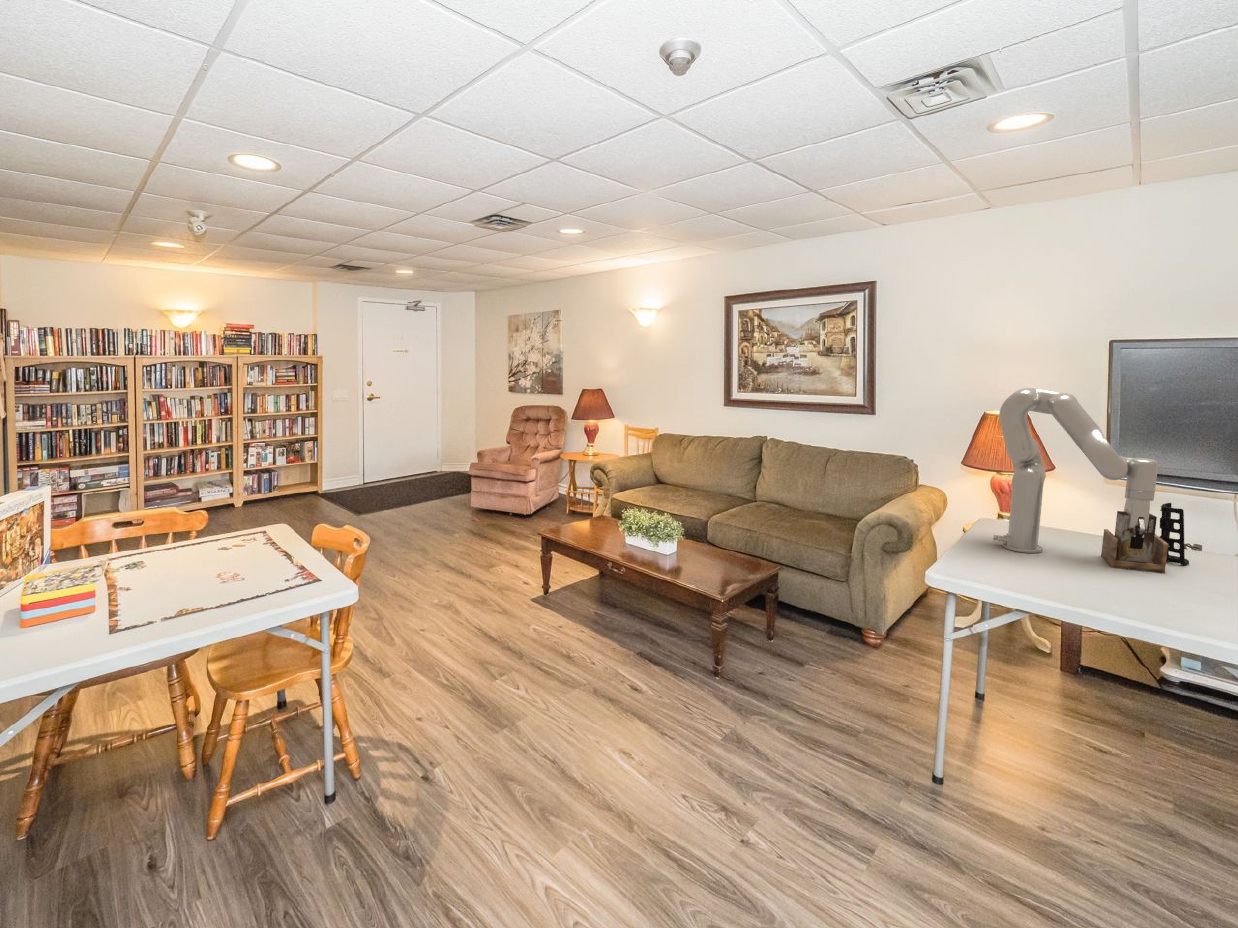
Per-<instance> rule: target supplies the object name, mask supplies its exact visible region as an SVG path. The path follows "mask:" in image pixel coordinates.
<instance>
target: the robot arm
mask: <svg viewBox="0 0 1238 928" xmlns="http://www.w3.org/2000/svg"><path fill="white" fill-rule="evenodd" d="M1029 412H1034V413H1035V412H1036V413H1040V414H1044V415H1046V414H1047V415H1051V416H1052V417H1053V418H1054V419H1055V420H1056V421H1057V423H1059V425H1060V426H1061V427H1062V429H1063V430H1064V432H1066V434H1068V437H1070V438H1071V440H1072V441H1073V442H1074V444H1075V445H1076V446H1077V447H1078V448H1079V449H1080V450H1081V451H1082V453H1083V454H1084V456H1085V457H1086V459H1088V461H1089V462H1090V463H1091V464H1092V466H1093V467H1094V468H1095V469H1096V471H1098V473H1099V474H1100V475H1101V476H1102V477H1103V478H1105V479H1106V480H1110V481H1118V480H1121V479H1124V478H1125V477H1126V484H1125V491H1124V492H1125V493H1124V498H1125V503H1124V506H1123V511H1124V512H1126V513H1127V514H1128V515H1130V516H1129V523H1128V528H1130V529H1131V528H1133V537H1132V536H1131V543H1130V548H1133V549H1142V548H1143V541H1144V531H1145V529H1147V527H1148V521H1149V514H1150V511H1151V509H1150V508H1151V507H1150V506H1151V502H1153V501H1154V500H1155V494H1156V493H1155V492H1156V484H1157V477H1158V470H1159V462H1158V460H1156V459H1153V458H1146V457H1127V456H1121V455H1119V454H1118V452H1117V451H1116V450H1115V449H1114V448H1113V447H1112V445H1111V444H1110V443H1109V441H1108V440H1107V438H1106V437H1105V435H1104V433H1103V431H1102V430H1101V428H1100V427H1099V425H1098V424H1097V423H1096V421H1094V419H1093V417H1091V415H1089V413H1088V412H1087V411H1086V410H1085V409H1084V407H1083V406H1082V405H1081V404H1080V402H1079V401H1078V399H1077V397H1075V395H1073V394H1071V393H1067V392H1059V391H1051V390H1045V389H1038V388H1031V387H1025V388H1021V389H1018V390H1016V391H1015V392H1013V393H1012V394H1011V395H1009V396H1008V397H1007V398H1006V399H1005V400H1004V401H1003V402H1002V405H1001V407H1000V409H999V416H998V417H999V423H1000V428H1001V431H1002V438H1003V441H1004V445H1005V450H1006V455H1007V456H1008V458H1009V459H1010V460H1011V461H1012V462H1011V463H1012V466H1013V469H1014V473H1013V475H1012V478H1011V496H1010V508H1009V510H1010V511H1009V520H1008V533H1006V534H1003V535H997V534H993V539H992V540H993V541H997V542H1002V544H1001V546H1002V547H1003V548H1004V549H1007V550H1009V551H1013V552H1019V553H1026V554H1027V553H1028V554H1038V553H1041V552H1042V551H1043V547H1042V546H1041V545H1040V544H1038V543H1039V535H1040V525H1041V515H1042V505H1043V504H1042V502H1043V491H1044V483H1045V480H1046V477H1047V475H1046V474H1047V472H1046V469H1045V465H1044V462H1043V459H1042V458H1043V457H1042V453H1041V451H1040V447H1039V444H1038V441H1036V439H1035V438H1034V437H1032V434H1031V431H1030V430H1031V429H1030V425H1029V422H1028V418H1027V417H1028V416H1027V415H1028V413H1029ZM1144 525H1145V526H1146V527H1145V526H1144ZM1135 526H1139V528H1135ZM1136 530H1138V531H1136Z"/></svg>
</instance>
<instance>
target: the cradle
mask: <svg viewBox="0 0 1238 928" xmlns="http://www.w3.org/2000/svg"><path fill="white" fill-rule="evenodd" d="M1117 543H1118V539H1117V538H1116V537H1115V534H1113V533H1112V532H1111V530H1109V529H1106V528H1103V536H1102V543H1101V555H1100V556H1101V558H1102V559H1103V560H1104V561H1105V563H1107V564H1108V566H1109V567H1110V568H1113V569H1120V570H1121V569H1123V570H1131V571H1139V572H1140V571H1141V572H1148V573H1149V572H1150V573H1158V574H1165V572H1166V565H1167V564H1166V563H1167V561H1166V558H1167V551H1168V543H1166V542H1165V541H1164V540H1163V539H1161V538H1160V536H1159V535H1158V534H1157V533H1155V538H1154V546H1153V555H1152V563H1148V562H1136V561H1124V560H1118V559H1117V558H1116V552H1117Z"/></svg>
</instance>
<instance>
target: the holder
mask: <svg viewBox="0 0 1238 928" xmlns="http://www.w3.org/2000/svg"><path fill="white" fill-rule="evenodd" d="M1159 511H1160V512H1161V517H1160V518H1159V529H1161V531H1160V534H1161V535H1160V536H1159V537H1160V538H1161V539H1163V540H1164V541H1165V542H1166V543H1168V551H1167V558H1166V562H1170V563H1175V564H1180V565H1181V566H1183V567H1186V566H1188V565H1189V564H1190V560H1189V559H1188V558H1185V512H1184V511H1185V510H1184V509H1183V508H1176V507H1175V508H1174V507H1172V502H1166V503H1163V504H1161V506H1160V510H1159ZM1172 513H1174V514H1177V515H1179V518H1172ZM1175 524H1178V525H1179V526H1178V527H1179V528H1175ZM1171 533H1175V534H1178V535H1179V539H1178V538H1173V537H1171ZM1175 543H1176V544H1179V548H1176V547H1175ZM1169 552H1172V553H1176V554H1179V556H1178V555H1177V556H1176V555H1172V554H1170V553H1169Z"/></svg>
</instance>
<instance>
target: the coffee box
mask: <svg viewBox="0 0 1238 928" xmlns="http://www.w3.org/2000/svg"><path fill="white" fill-rule="evenodd" d="M1129 516H1130V515H1128V514H1127V513H1126V512H1124V510H1123V511H1122V510H1117V512H1116V518H1115V529H1114V536H1115V537H1116V538H1117V539H1118V543H1117V552H1116V558H1117V559H1118V560H1124V561H1136V562H1148V563H1152V555H1153V546H1154V538H1155V534H1156V528H1157V519H1158V517H1157V516H1156V515H1153V514H1152V513H1149V521H1148V527H1147V529H1145V531H1144V541H1143V548H1142V549H1133V548H1130V543H1131V536H1132V537H1133V528H1131V529H1130V528H1128V523H1129ZM1144 526H1145V525H1144ZM1145 527H1146V526H1145ZM1135 528H1139V526H1135ZM1136 531H1138V530H1136Z"/></svg>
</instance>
